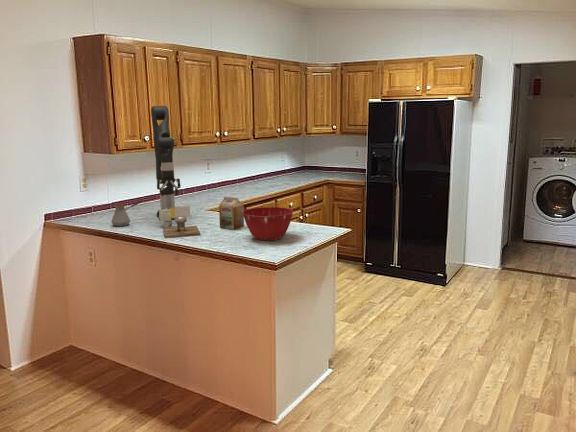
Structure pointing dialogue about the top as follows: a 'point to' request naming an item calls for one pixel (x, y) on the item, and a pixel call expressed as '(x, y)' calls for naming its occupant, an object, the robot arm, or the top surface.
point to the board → (177, 233)
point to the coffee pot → (122, 215)
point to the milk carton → (231, 213)
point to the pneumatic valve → (165, 217)
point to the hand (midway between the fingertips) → (169, 195)
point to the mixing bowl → (268, 222)
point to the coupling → (180, 213)
